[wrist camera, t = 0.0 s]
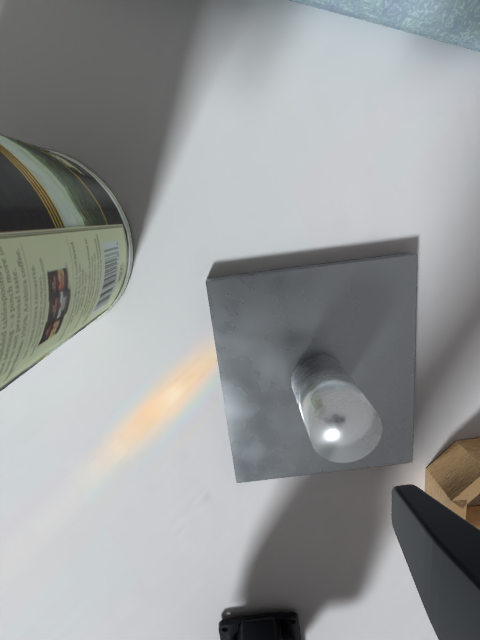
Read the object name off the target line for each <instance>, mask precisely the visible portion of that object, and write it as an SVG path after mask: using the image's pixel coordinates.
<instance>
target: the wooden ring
mask: <svg viewBox="0 0 480 640" xmlns="http://www.w3.org/2000/svg"><path fill="white" fill-rule="evenodd" d="M425 492H426V493H427V494H428V495H430V496H431V497H433V498H434V499H436V500H437V501H439V502H440V503H441V504H443V505H444V506H446V507H447V508H449V509H450V510H452V511H453V512H455V513H456V514H457V515H459V516H460V517H462V518H463V519H465V520H466V521H468V522H469V523H470V524H472V525H473V526H475V527H476V528H478V529H479V530H480V506H472V507H467V504H468V503H469V502H470V501H472V500H473V499H474V498H475V497H476V496H477V495H479V494H480V438H474V439H466V440H457V441H455V442H454V443H453V444H452V445H451V446H450V447H449V448H448V449H447V450H446V451H444V452H443V453H442V454H441V455H440V456H439V457H438V458H437V459H436V460H435V461H434V462H432V463H431V464H430V465H429V466H428V467H427V468H426V483H425Z"/></svg>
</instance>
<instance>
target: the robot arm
mask: <svg viewBox="0 0 480 640" xmlns="http://www.w3.org/2000/svg"><path fill="white" fill-rule="evenodd" d="M392 524H393V528H394V531H395V534H396V536H397V539H398V541H399V544H400V546H401V549H402V551H403V554H404V557H405V559H406V562H407V564H408V567H409V569H410V572H411V574H412V577H413V580H414V582H415V585H416V587H417V590H418V592H419V595H420V598H421V600H422V603H423V605H424V608H425V610H426V612H427V615H428V617H429V620H430V622H431V624H432V626H433V628H434V630H435V632H436V635H437V637H438V639H439V640H480V530H479V529H478V528H476V527H475V526H473V525H472V524H470V523H469V522H468V521H466V520H465V519H463V518H462V517H460V516H459V515H457V514H456V513H455V512H453V511H452V510H450V509H449V508H447V507H446V506H444V505H443V504H441V503H440V502H439V501H437V500H436V499H434V498H433V497H431V496H430V495H428V494H427V493H426V492H424V491H423V490H421V489H420V488H418V487H417V486H415V485H411V484H410V485H401V486H395V487H394V488H393V489H392ZM219 634H220V639H221V640H301V636H300V626H299V618H298V614H297V613H295V612H288V613H279V614H270V615H261V616H252V617H243V618H235V619H226V620H222V621H220V622H219Z"/></svg>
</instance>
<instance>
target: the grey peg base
mask: <svg viewBox="0 0 480 640" xmlns="http://www.w3.org/2000/svg"><path fill="white" fill-rule="evenodd" d="M206 287H207V293H208V300H209V306H210V313H211V319H212V326H213V332H214V339H215V345H216V352H217V358H218V365H219V371H220V378H221V384H222V391H223V397H224V404H225V411H226V417H227V424H228V430H229V437H230V443H231V450H232V456H233V463H234V469H235V476H236V482H237V483H241V482H250V481H258V480H267V479H275V478H284V477H292V476H301V475H309V474H318V473H326V472H335V471H343V470H352V469H360V468H368V467H377V466H385V465H394V464H402V463H411V462H413V420H414V376H415V333H416V290H417V254H412V253H403V254H395V255H387V256H379V257H372V258H364V259H356V260H348V261H340V262H332V263H324V264H316V265H308V266H300V267H293V268H285V269H277V270H269V271H261V272H253V273H245V274H237V275H229V276H221V277H214V278H207V279H206Z"/></svg>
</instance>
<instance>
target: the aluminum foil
mask: <svg viewBox="0 0 480 640" xmlns="http://www.w3.org/2000/svg"><path fill="white" fill-rule="evenodd" d="M290 1H294V2H298V3H301V4H305V5H309V6H312V7H316V8H320V9H324V10H327V11H331V12H335V13H339V14H342V15H346V16H350V17H353V18H357V19H361V20H365V21H368V22H372V23H376V24H380V25H383V26H387V27H391V28H394V29H398V30H402V31H406V32H409V33H413V34H417V35H421V36H424V37H428V38H432V39H435V40H439V41H443V42H447V43H450V44H454V45H458V46H462V47H465V48H469V49H473V50H476V51H480V0H290Z"/></svg>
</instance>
